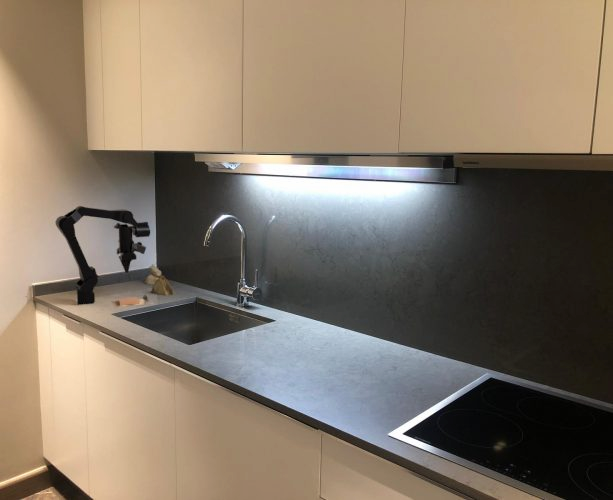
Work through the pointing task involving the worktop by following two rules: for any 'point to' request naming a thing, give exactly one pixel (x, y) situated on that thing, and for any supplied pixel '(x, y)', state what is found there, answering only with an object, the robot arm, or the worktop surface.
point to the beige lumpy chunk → (153, 275)
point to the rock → (162, 287)
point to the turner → (147, 300)
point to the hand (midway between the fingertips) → (126, 272)
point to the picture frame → (128, 301)
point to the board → (141, 302)
